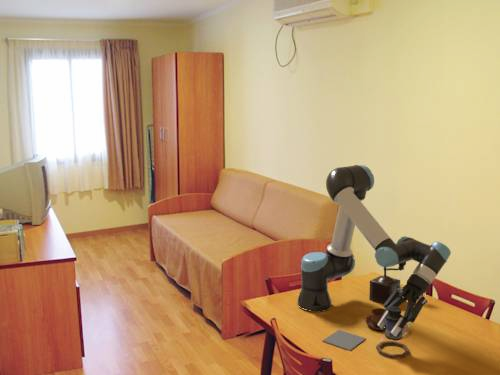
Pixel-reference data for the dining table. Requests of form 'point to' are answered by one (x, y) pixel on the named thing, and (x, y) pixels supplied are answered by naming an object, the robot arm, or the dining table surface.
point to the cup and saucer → (375, 318)
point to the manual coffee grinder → (384, 286)
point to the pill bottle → (393, 322)
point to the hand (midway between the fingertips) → (386, 330)
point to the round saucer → (392, 354)
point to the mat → (344, 340)
